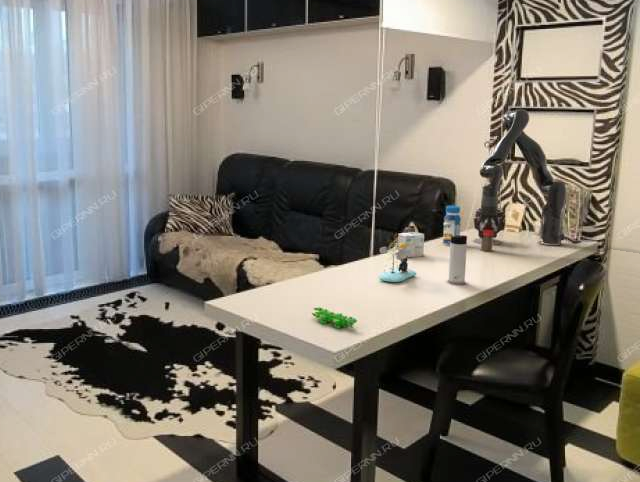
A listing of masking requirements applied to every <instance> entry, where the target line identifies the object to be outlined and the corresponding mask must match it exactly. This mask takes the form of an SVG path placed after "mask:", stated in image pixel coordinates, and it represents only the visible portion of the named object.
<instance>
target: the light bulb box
mask: <svg viewBox="0 0 640 482" xmlns="http://www.w3.org/2000/svg"><path fill="white" fill-rule="evenodd" d="M397 237H398V238H397V239H398V240H397V246H398V245H400V244H402V243H403V244H404V243H406V244H407V245H406V247H407V249H409V252H410V253H411V254H410V255H408V256H407V257H408V258H413V257H415V258H416V257H424V253H425V252H424V251H425V250H424V249H425V233H421V232H418V231H413V232H412V231H411V232H402V233H398V236H397ZM398 251H399V250H398V249H397V252H398Z"/></svg>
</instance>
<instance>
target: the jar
mask: <svg viewBox="0 0 640 482" xmlns="http://www.w3.org/2000/svg"><path fill="white" fill-rule="evenodd" d="M493 239H494V238H493V235H492V236H487V235H482V240H481V243H480V251H482V252H493V246H494V245H493Z"/></svg>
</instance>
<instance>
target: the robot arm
mask: <svg viewBox="0 0 640 482" xmlns="http://www.w3.org/2000/svg"><path fill="white" fill-rule="evenodd" d="M529 122H530V115H529V112H528V111H527V110H526V109H522V108H521V109H520V108H519V109H515V110H510V111H506V112H505V113H504V114H503V116H502V123H503V126H504V127H505V129H506V130H507V132H505V134H504V135H503V136H502V138H500V139H499V141H498V142H497V143H496V144H495V146H494V148H493V150H492V152H491V154H490V156H489V157H488V158H486V160H485V161H484V162H483V163H482V164H481V166H480V168H479V175H480V176H481V178H483V179H491V180H490V182H486V183H484V184H483V185H482V191H481V193H482V194H481V201H480V208H481V215H480V217H475V216H474V217H473V226H474V229H475V230H477V232H478V234H477V235H478V237H479V238H482V229H483V227H484V226H485V225H492V227H493V229H494V230H493V231H494V235H493V239H496V238H497V237H498V233H497V231H498V230H500V231H501V230H502V229H503V226H502V224H503V225H504V219H505V218H504V217H503V218H502V217H500V218H499V217H497V209H498V205H499V197H498V195H499V187H500V183H501V181H502V178H503V175H504V169H503V167H502V166H501V165H502V164H504V163H505V161H506V159H507V158H508V156H509V153H510V151H511V150H512V148H513V146H514V144H516V146H517V147H518V149H519V151H520V152H521V155H522V157H523V158H524V161H525V162H526V164H527V166H528V167H529V169H530V171H531V173H532V174H533V176H534V178H535V180H536V183H537V185H538V188H539V191H540V192H541V194H542V195H543V196H544V197H546V198H547V200H546V203H545V204H543V205H542V207H541V220H540V233H539V234H540V235H539V239H538V240H539V244H540V245H545V246H560V245H562V241H564V240H568V241H569V242H570V243H573V244H578V243H581V240H572V239H571V238H570V237H567V236H565V233H563V225H562V220H563V219H562V217H563V209H564V207H565V204H566V197H567V187H566V185H565V183H564V182H562V181H560V180H555V179H554V178H553V177H552V175H551V173H550V171H549V169H548V161H547V156H546V153H545V152H544V150H543V148H542V146H541V145H540V144H539V143H538V142H537V141H536V140H535V139H533V138H532V137H530V136H529V135H528V134H527V133H526V132H525V131H524V130H525V128H527V125H528V124H529ZM479 219H480V220H481V221H482V222H481V224H480V226H479V227H478V221H479ZM497 219H498V221H499V223H498V227H496V224H495V222H496V220H497ZM501 228H502V229H501ZM478 230H479V231H478Z"/></svg>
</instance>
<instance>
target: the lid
mask: <svg viewBox="0 0 640 482" xmlns="http://www.w3.org/2000/svg"><path fill="white" fill-rule="evenodd" d="M482 235H487V236H492V235H494V231H491V230H482Z"/></svg>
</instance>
